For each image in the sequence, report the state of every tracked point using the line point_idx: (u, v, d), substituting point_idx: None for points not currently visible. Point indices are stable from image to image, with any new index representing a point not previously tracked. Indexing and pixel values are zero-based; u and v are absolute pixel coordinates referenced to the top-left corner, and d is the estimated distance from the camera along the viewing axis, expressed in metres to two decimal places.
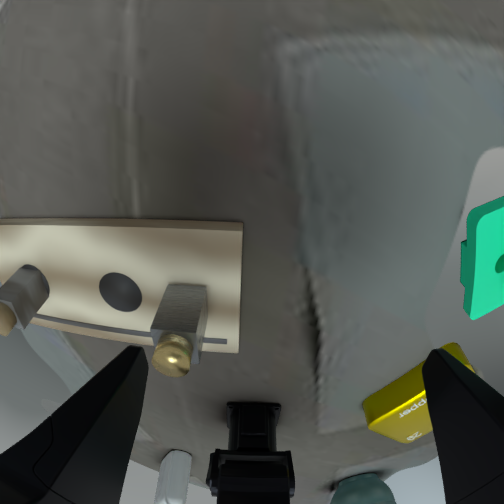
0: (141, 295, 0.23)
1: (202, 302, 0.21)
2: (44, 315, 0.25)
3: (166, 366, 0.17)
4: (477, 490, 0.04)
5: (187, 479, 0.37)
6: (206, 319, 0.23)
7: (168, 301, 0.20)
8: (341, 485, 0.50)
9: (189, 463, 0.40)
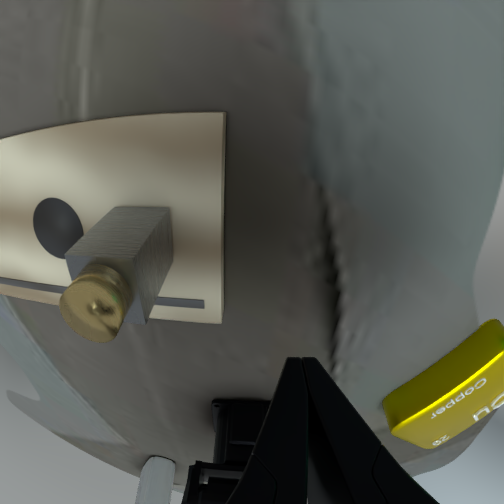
0: (83, 231, 0.15)
1: (157, 223, 0.12)
2: None
3: (82, 320, 0.09)
4: None
5: (169, 491, 0.29)
6: (168, 261, 0.15)
7: (106, 223, 0.12)
8: None
9: (172, 472, 0.32)
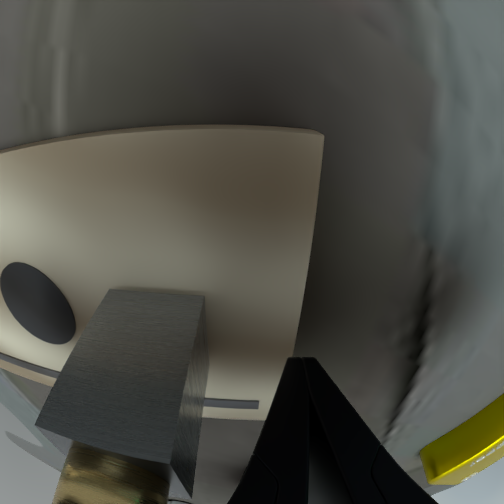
0: (73, 314, 0.09)
1: (192, 343, 0.07)
2: None
3: None
4: None
5: None
6: (205, 374, 0.09)
7: (99, 337, 0.07)
8: None
9: None
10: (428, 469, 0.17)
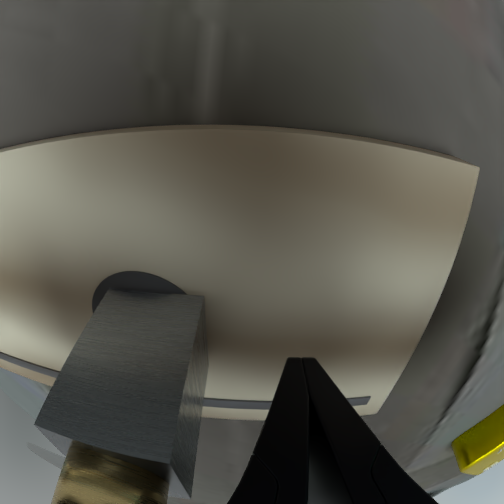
0: None
1: (192, 343, 0.07)
2: None
3: None
4: None
5: None
6: (205, 374, 0.09)
7: (98, 337, 0.07)
8: None
9: None
10: (461, 458, 0.18)
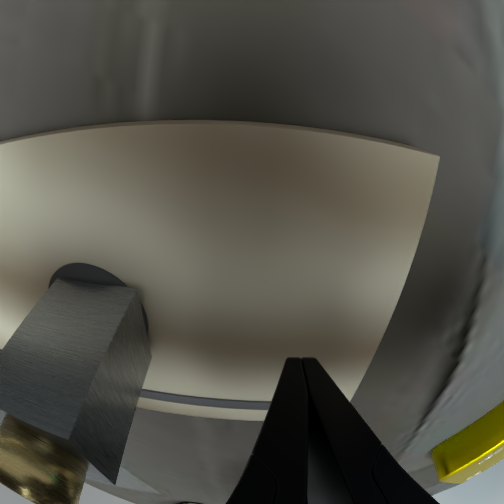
0: (147, 322, 0.09)
1: (114, 332, 0.07)
2: None
3: None
4: None
5: None
6: (143, 366, 0.09)
7: (37, 322, 0.06)
8: None
9: None
10: (440, 467, 0.18)
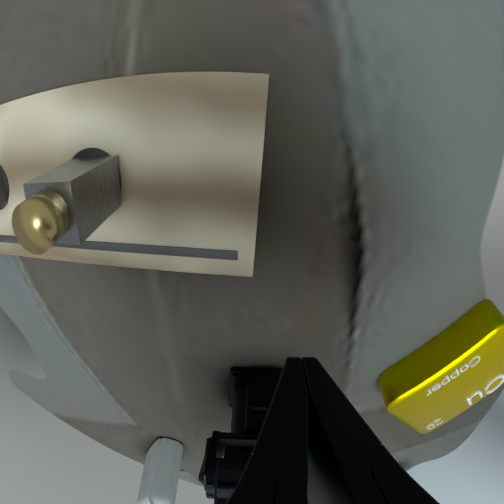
0: (121, 181, 0.16)
1: (102, 164, 0.13)
2: (1, 235, 0.18)
3: (26, 232, 0.10)
4: None
5: (177, 474, 0.30)
6: (114, 202, 0.15)
7: (63, 166, 0.13)
8: None
9: (180, 454, 0.33)
10: (385, 394, 0.24)
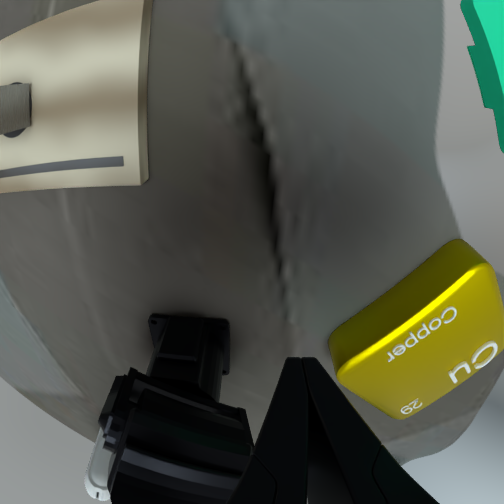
0: (31, 105, 0.13)
1: (10, 85, 0.11)
2: None
3: None
4: None
5: None
6: (21, 121, 0.13)
7: None
8: None
9: None
10: (334, 359, 0.22)
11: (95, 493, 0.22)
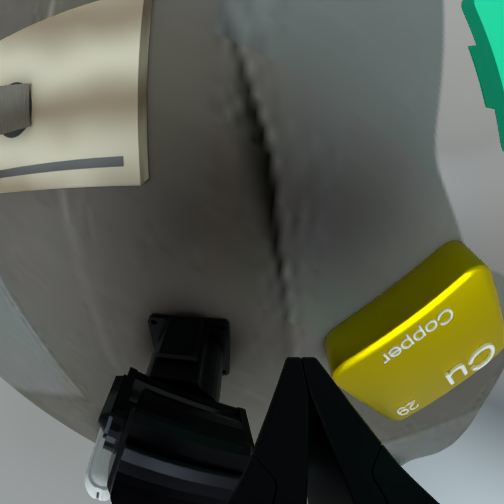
0: (31, 105, 0.13)
1: (10, 85, 0.11)
2: None
3: None
4: None
5: None
6: (21, 121, 0.13)
7: None
8: None
9: None
10: (330, 360, 0.22)
11: (95, 493, 0.22)
